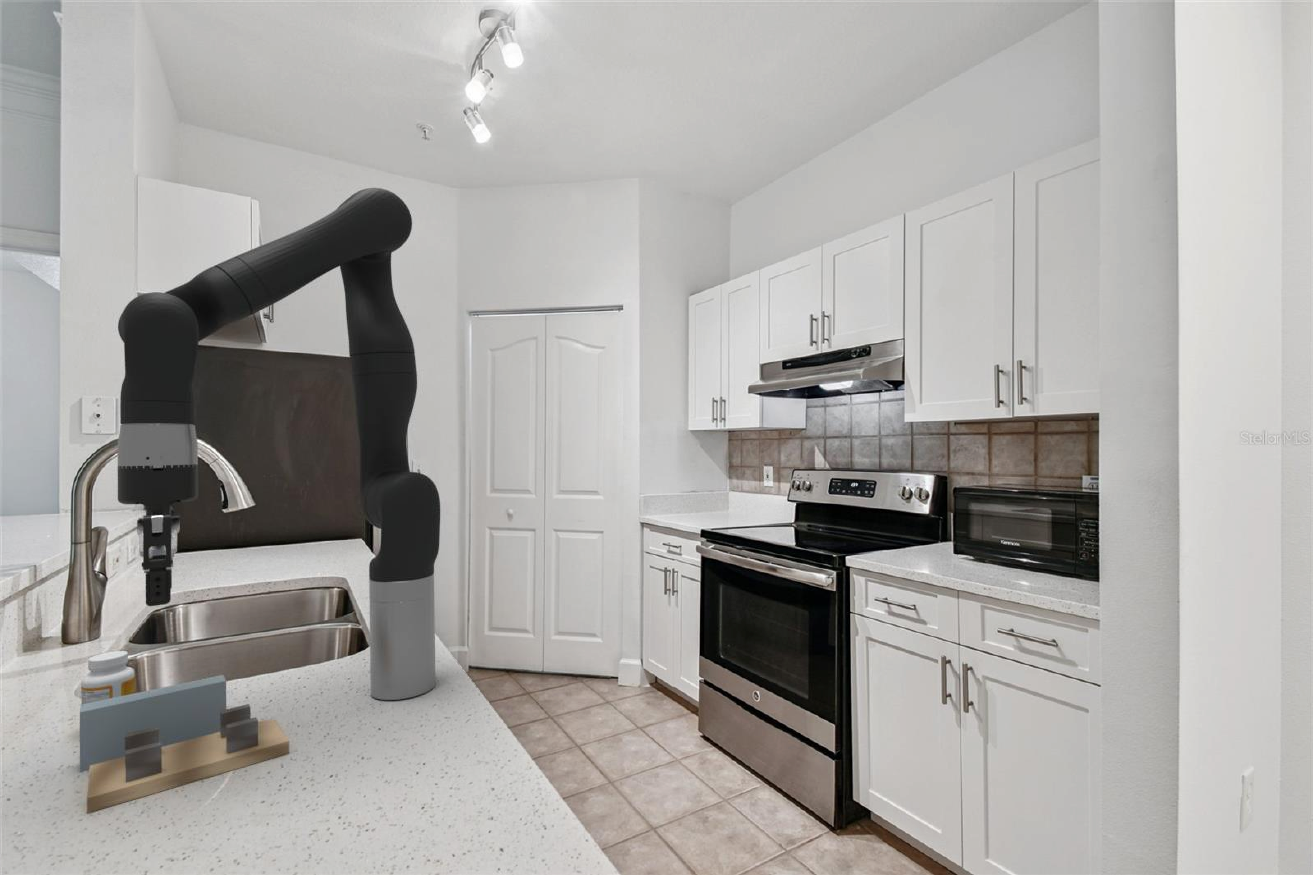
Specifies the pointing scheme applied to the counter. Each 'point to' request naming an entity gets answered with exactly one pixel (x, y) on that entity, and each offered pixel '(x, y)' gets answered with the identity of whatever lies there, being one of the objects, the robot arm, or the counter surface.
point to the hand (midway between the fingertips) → (159, 597)
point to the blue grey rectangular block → (150, 717)
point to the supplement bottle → (107, 677)
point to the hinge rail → (183, 758)
